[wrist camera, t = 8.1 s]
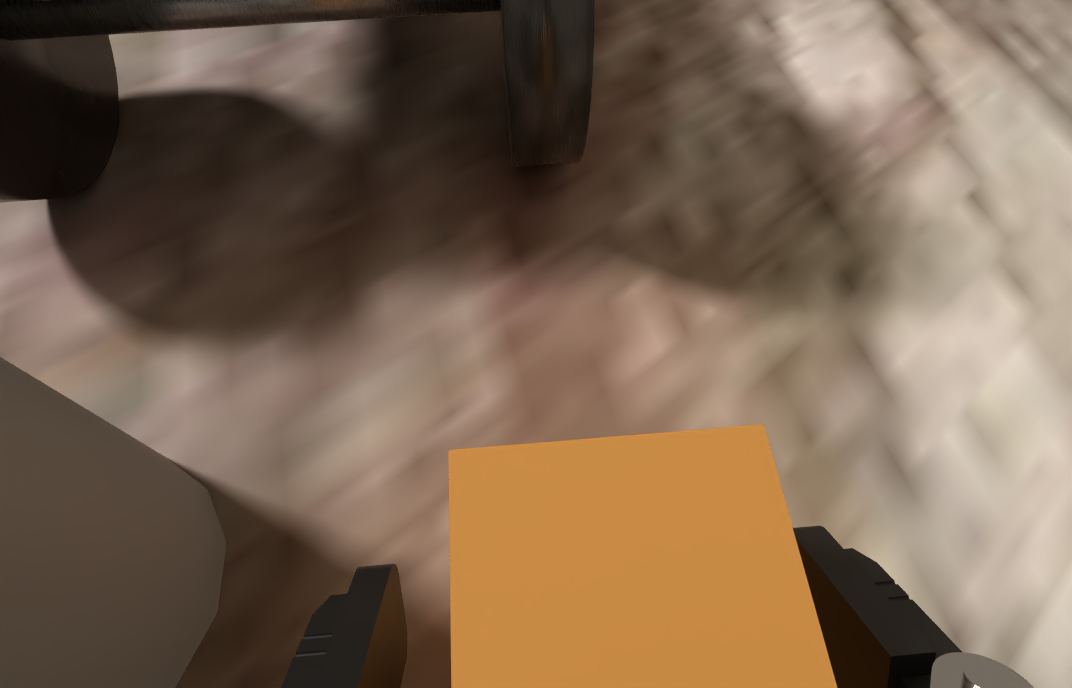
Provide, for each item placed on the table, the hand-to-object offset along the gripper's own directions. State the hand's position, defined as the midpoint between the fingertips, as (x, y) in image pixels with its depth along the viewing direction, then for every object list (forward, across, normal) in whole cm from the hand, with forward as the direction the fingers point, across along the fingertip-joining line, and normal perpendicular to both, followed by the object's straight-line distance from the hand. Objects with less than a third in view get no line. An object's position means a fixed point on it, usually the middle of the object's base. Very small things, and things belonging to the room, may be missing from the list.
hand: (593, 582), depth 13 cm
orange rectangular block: (+2, 0, -4) cm, 5 cm away
